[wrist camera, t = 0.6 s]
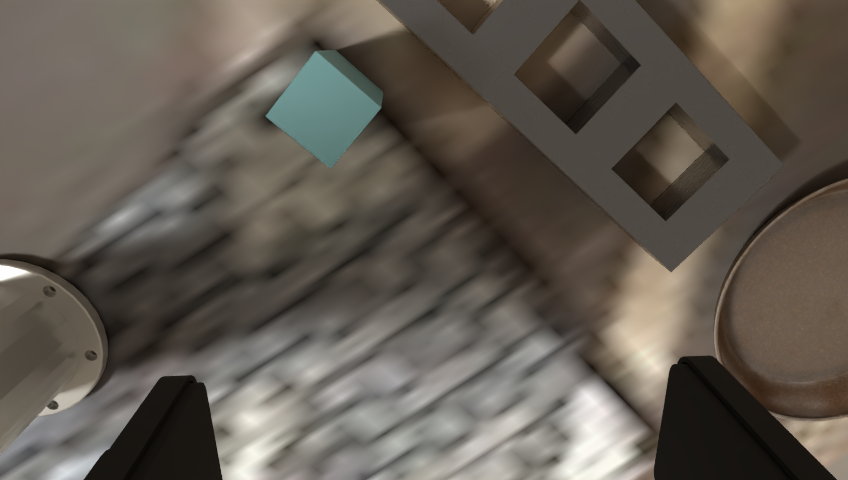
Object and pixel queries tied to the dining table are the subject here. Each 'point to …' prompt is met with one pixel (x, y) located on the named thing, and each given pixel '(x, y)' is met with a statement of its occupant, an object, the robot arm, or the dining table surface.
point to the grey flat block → (608, 112)
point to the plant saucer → (791, 310)
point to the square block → (327, 106)
